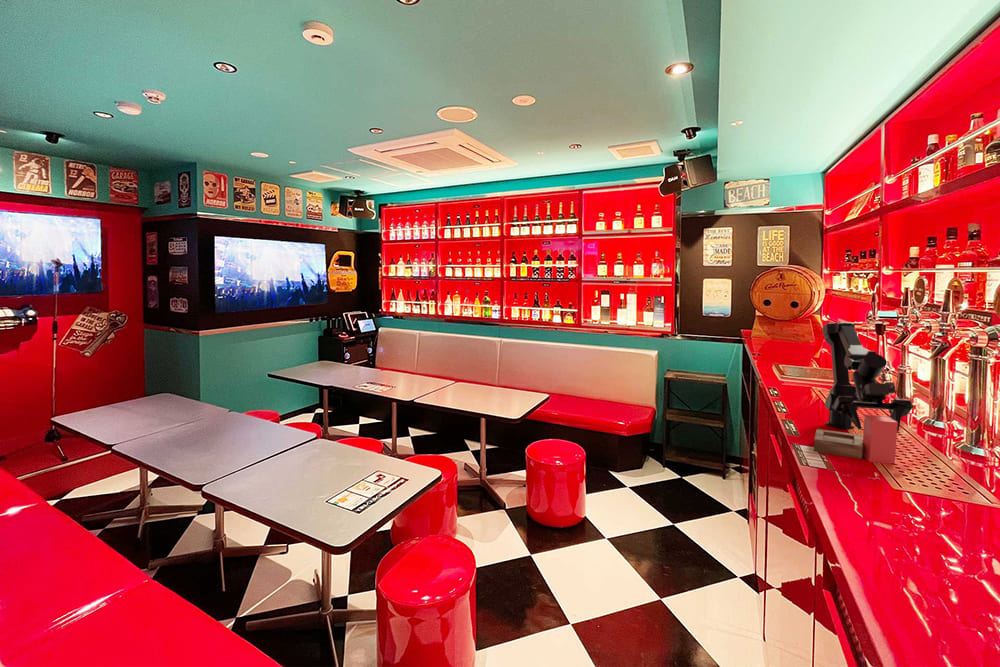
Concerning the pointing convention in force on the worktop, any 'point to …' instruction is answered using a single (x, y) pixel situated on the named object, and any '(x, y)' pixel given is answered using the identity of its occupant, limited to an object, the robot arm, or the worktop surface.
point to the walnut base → (838, 443)
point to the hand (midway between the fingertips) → (878, 430)
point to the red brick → (879, 439)
